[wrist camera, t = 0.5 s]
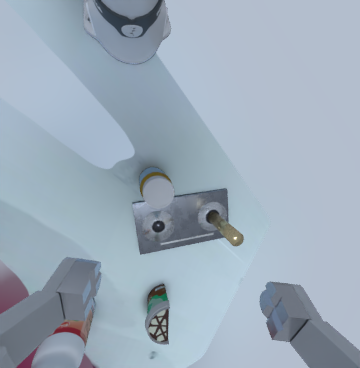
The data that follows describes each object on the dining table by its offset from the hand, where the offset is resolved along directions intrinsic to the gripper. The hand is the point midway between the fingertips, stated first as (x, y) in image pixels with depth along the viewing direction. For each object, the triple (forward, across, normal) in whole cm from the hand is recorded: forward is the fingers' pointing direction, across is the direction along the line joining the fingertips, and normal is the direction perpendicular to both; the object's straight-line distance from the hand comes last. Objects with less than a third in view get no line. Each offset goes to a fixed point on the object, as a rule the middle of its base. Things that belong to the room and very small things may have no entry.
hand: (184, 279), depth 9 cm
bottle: (+40, +6, +15) cm, 43 cm away
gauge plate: (+38, -5, +26) cm, 46 cm away
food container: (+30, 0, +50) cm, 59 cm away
